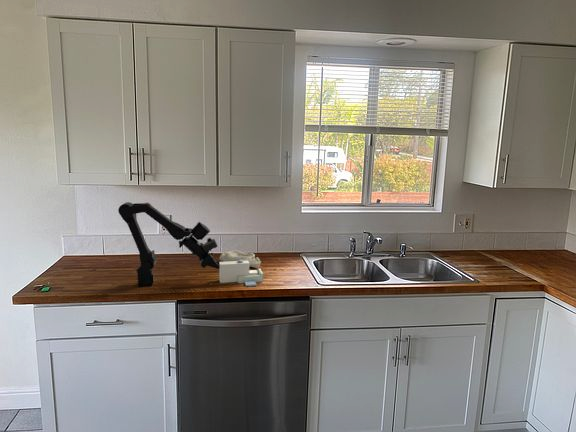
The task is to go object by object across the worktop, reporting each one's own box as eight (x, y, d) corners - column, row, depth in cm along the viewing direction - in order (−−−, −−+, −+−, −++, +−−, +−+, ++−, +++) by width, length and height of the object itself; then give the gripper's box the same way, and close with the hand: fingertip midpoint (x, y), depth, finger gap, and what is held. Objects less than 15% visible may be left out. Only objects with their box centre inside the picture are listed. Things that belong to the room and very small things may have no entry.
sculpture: (221, 269, 236) (214, 269, 221) (221, 250, 238) (214, 248, 223) (264, 268, 234) (260, 267, 219) (264, 249, 235) (260, 247, 221)
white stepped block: (220, 282, 200) (219, 263, 198) (219, 279, 204) (219, 260, 202) (257, 280, 204) (257, 261, 202) (256, 277, 208) (256, 258, 207)
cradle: (239, 287, 195) (239, 278, 194) (234, 274, 213) (234, 266, 213) (265, 285, 197) (265, 277, 197) (258, 272, 216) (258, 265, 215)
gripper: (207, 238, 188) (232, 261, 192) (206, 230, 206) (229, 251, 210) (190, 256, 187) (215, 278, 192) (189, 246, 205) (213, 267, 210)
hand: (218, 268), depth 201 cm, fingers closed, pressing on white stepped block
